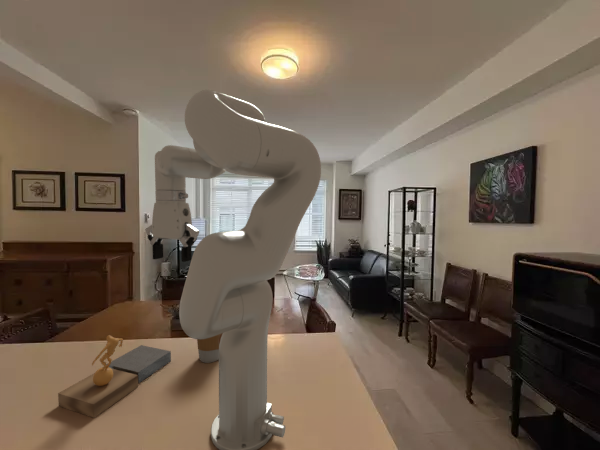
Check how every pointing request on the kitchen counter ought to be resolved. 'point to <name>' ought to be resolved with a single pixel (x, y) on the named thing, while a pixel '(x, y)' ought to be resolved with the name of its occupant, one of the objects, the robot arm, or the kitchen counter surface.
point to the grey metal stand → (142, 361)
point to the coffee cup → (209, 348)
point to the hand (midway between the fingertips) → (172, 259)
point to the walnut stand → (97, 393)
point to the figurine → (105, 373)
